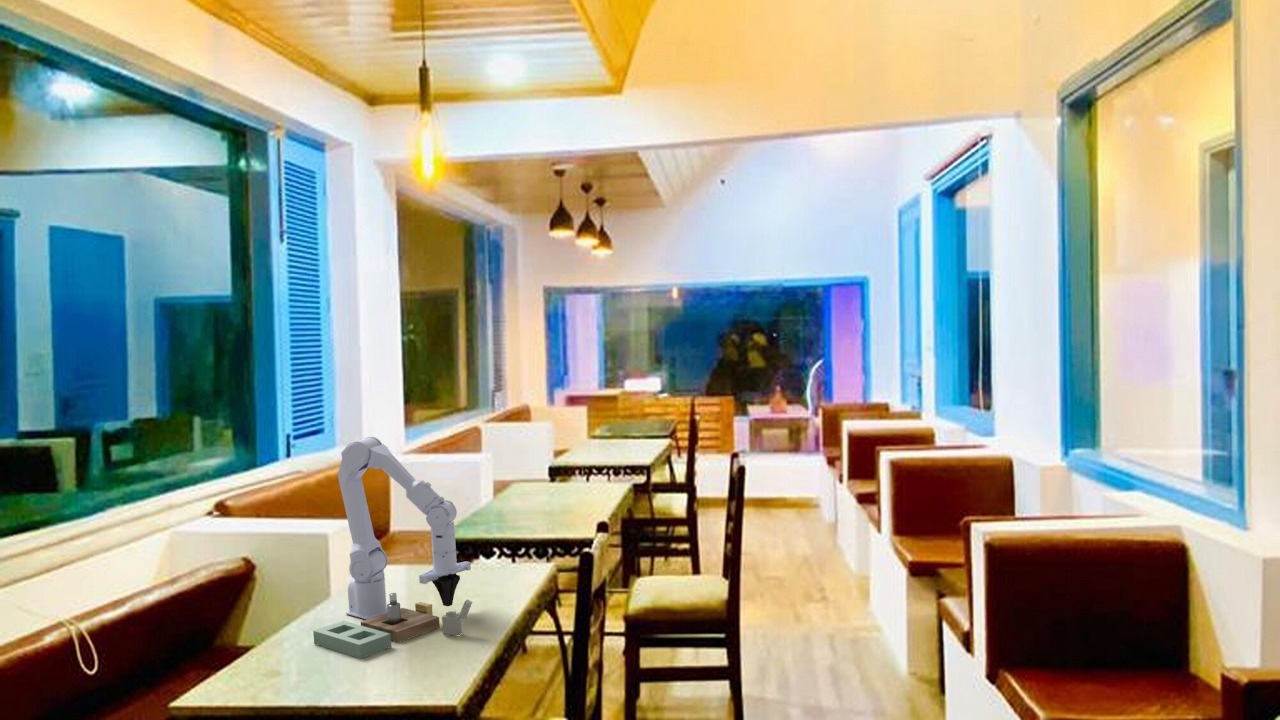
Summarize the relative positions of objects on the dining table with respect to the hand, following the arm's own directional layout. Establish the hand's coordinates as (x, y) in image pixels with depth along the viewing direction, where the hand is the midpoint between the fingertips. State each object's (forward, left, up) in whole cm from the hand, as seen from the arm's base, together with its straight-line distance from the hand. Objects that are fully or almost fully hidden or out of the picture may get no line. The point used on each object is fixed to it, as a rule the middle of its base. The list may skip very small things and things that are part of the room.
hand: (447, 605), depth 228 cm
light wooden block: (0, -9, -2) cm, 9 cm away
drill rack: (-1, -27, -2) cm, 27 cm away
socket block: (0, -14, -2) cm, 14 cm away
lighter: (+15, -9, -2) cm, 18 cm away
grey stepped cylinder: (0, -16, -2) cm, 16 cm away
